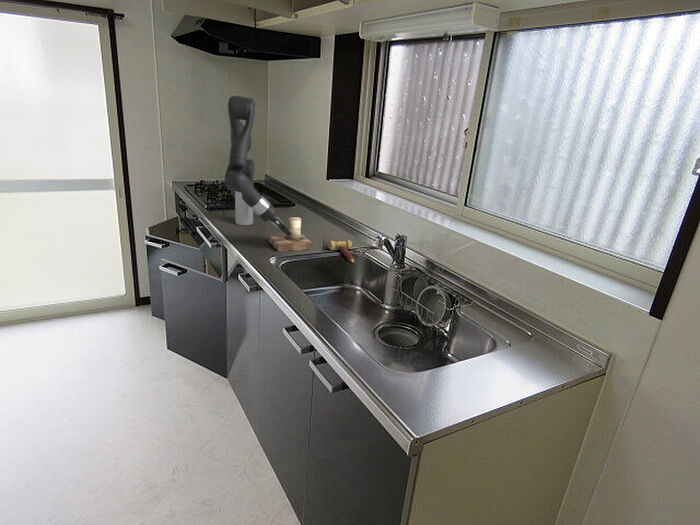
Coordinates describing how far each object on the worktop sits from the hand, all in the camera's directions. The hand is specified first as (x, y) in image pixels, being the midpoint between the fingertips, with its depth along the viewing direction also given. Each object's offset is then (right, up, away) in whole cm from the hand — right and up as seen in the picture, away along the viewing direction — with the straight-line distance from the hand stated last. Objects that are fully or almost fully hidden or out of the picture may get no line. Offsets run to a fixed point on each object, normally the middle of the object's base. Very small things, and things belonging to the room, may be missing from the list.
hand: (286, 232), depth 204 cm
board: (+1, -6, +3) cm, 6 cm away
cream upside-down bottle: (+3, -5, +3) cm, 7 cm away
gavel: (+27, -11, -4) cm, 29 cm away
